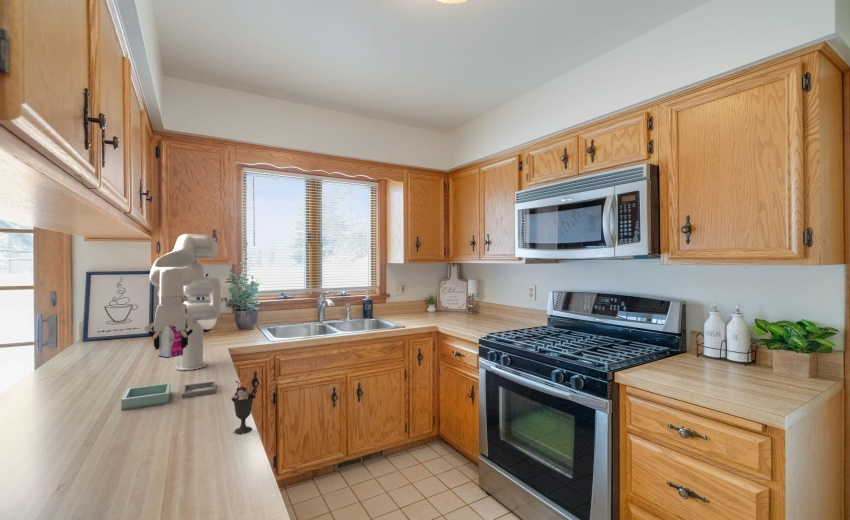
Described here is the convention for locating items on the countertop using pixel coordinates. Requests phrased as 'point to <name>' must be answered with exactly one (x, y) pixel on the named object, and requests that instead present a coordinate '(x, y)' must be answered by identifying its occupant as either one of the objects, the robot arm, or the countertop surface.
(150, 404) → the bin
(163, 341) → the supplement box
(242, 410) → the sundae
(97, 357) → the countertop surface
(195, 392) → the collar
